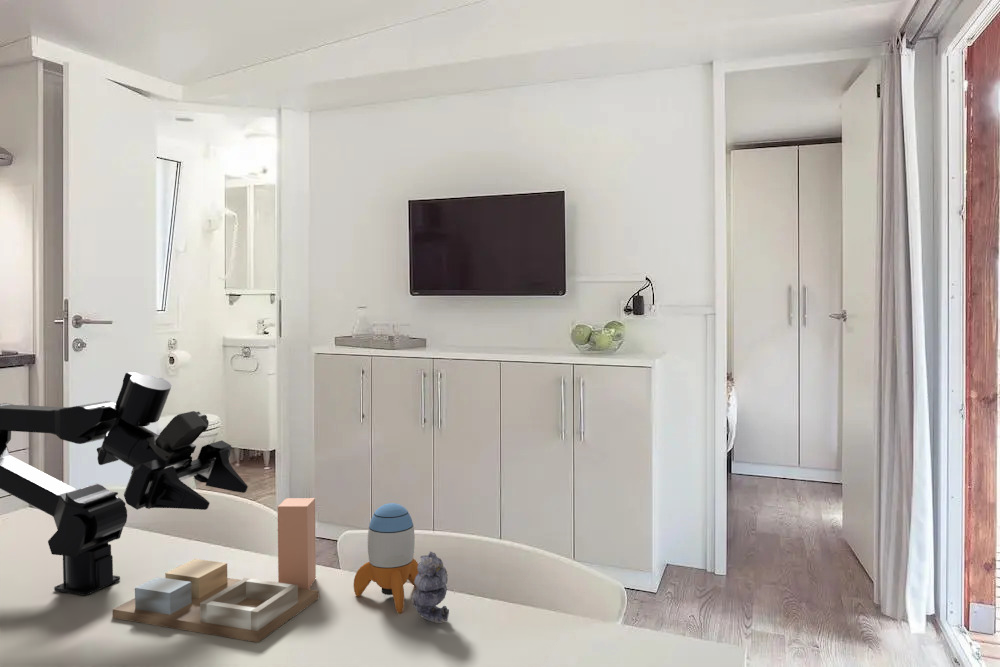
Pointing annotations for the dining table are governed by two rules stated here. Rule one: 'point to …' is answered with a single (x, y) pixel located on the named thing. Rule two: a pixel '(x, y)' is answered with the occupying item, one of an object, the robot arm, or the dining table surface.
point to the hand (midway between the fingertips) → (228, 497)
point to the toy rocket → (389, 553)
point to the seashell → (431, 589)
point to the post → (296, 542)
